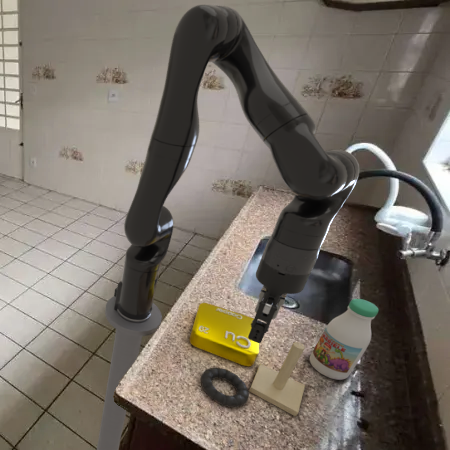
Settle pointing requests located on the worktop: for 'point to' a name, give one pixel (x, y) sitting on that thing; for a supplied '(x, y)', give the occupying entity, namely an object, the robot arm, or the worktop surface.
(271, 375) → the stand
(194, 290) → the worktop surface
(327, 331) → the milk bottle
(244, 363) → the element tile
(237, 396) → the ring
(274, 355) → the worktop surface
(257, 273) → the robot arm
